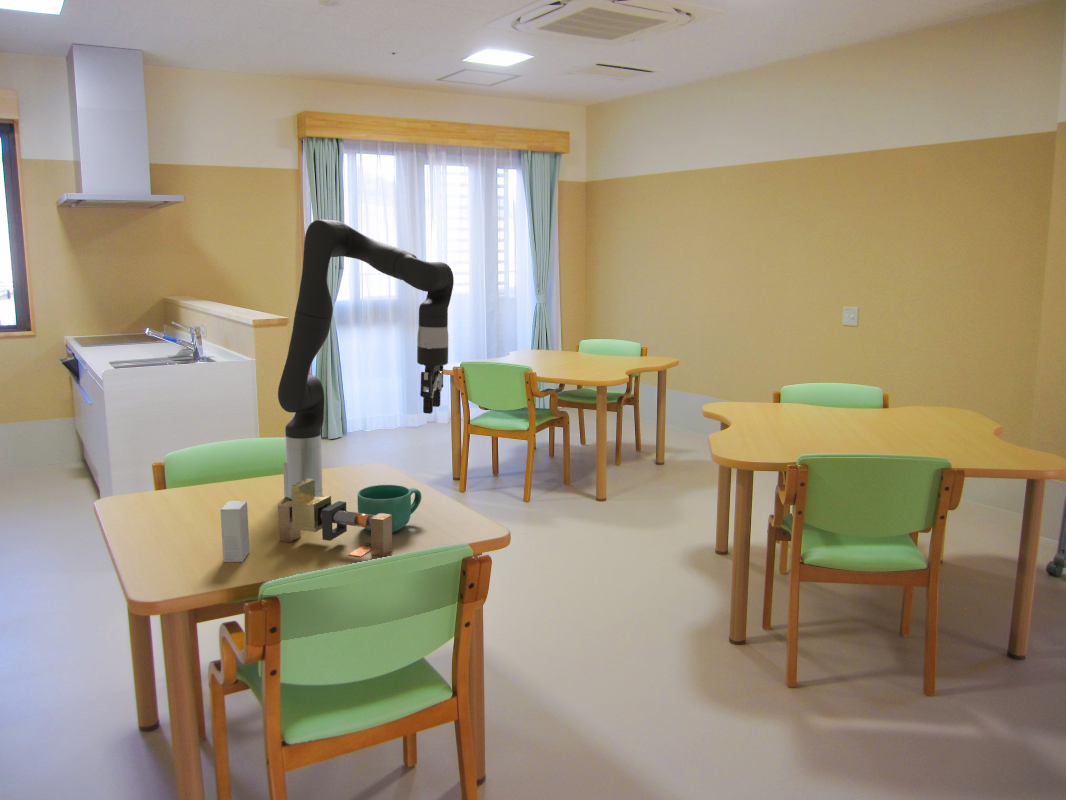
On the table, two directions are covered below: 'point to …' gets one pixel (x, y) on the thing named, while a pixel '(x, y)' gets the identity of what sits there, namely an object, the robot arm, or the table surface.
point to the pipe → (377, 523)
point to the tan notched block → (307, 506)
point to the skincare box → (235, 531)
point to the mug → (389, 503)
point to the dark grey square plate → (327, 521)
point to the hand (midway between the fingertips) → (431, 409)
